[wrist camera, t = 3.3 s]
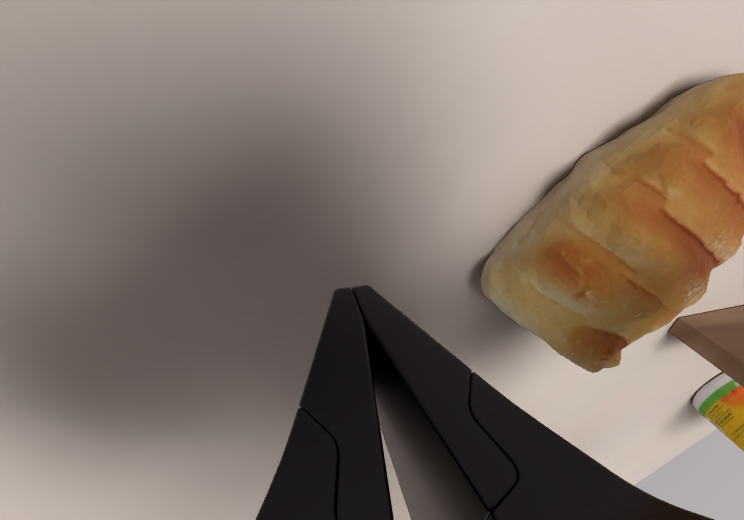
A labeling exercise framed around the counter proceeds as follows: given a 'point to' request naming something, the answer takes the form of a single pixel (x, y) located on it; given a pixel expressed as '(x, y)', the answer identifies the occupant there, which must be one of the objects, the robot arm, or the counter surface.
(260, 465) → the counter surface
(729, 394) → the supplement bottle
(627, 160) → the pastry
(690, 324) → the box
